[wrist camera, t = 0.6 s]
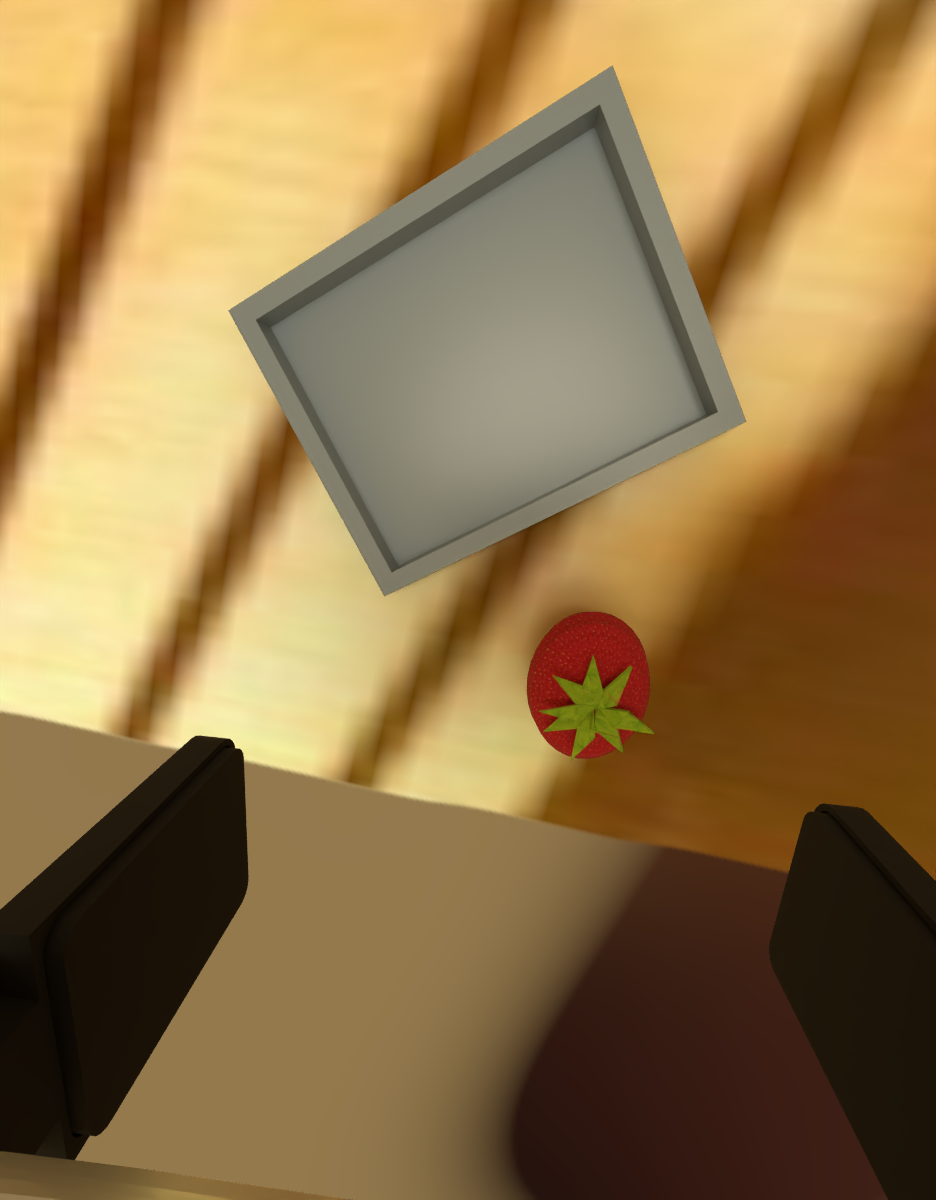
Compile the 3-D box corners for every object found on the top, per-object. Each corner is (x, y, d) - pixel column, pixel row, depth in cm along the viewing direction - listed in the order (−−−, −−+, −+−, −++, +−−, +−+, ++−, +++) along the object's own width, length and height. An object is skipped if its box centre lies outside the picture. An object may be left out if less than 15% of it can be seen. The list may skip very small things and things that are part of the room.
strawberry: (638, 592, 31) (692, 654, 22) (615, 712, 33) (654, 818, 24) (535, 579, 32) (542, 635, 22) (517, 699, 34) (517, 797, 24)
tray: (727, 424, 29) (746, 421, 26) (394, 585, 33) (384, 596, 30) (603, 101, 26) (612, 65, 23) (251, 321, 29) (228, 310, 27)
